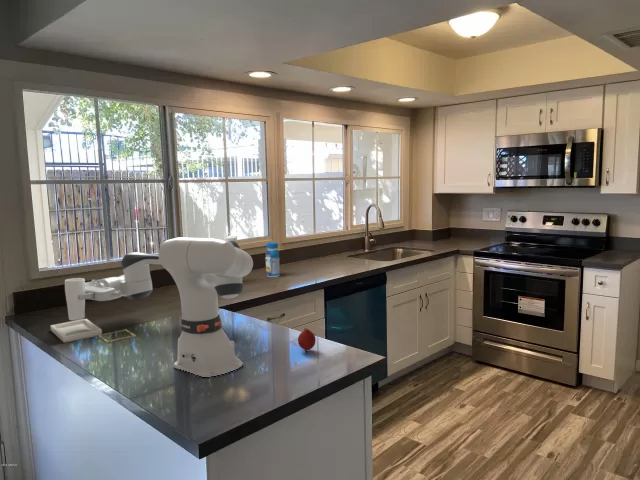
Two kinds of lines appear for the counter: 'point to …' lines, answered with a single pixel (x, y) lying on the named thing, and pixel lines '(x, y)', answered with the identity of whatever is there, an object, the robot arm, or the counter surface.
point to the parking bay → (116, 339)
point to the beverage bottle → (272, 260)
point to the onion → (306, 339)
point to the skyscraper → (230, 238)
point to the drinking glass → (75, 298)
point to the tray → (75, 330)
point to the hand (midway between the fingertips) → (73, 296)
